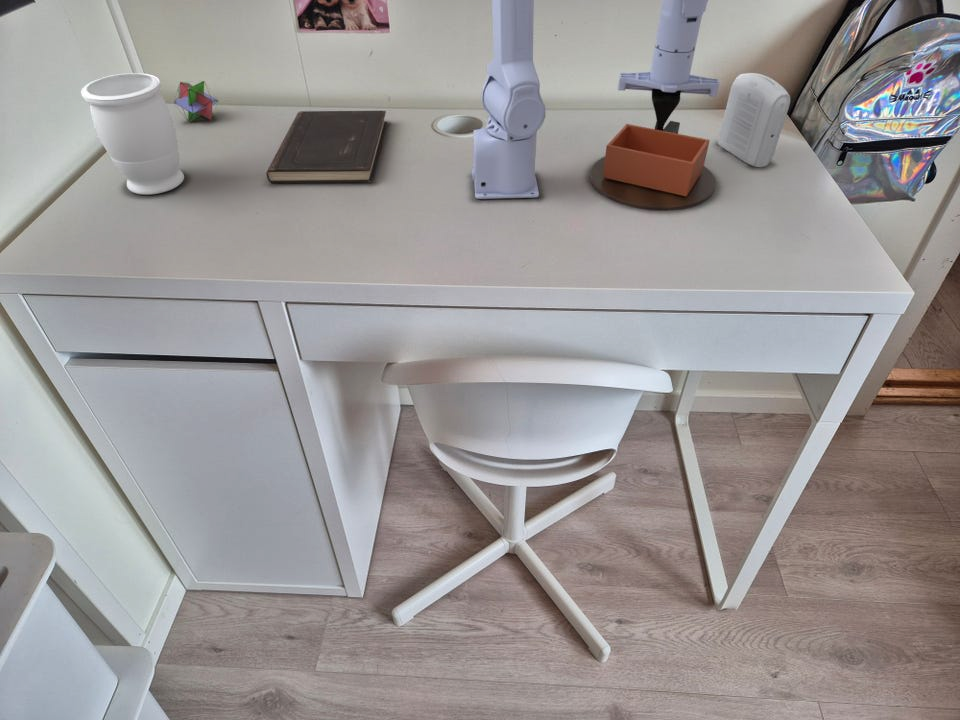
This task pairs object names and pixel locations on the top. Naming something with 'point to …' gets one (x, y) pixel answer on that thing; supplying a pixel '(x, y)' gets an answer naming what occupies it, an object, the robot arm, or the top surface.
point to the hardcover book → (329, 148)
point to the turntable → (651, 191)
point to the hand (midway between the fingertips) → (657, 137)
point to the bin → (656, 158)
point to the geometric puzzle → (195, 100)
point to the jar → (136, 130)
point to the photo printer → (754, 118)
